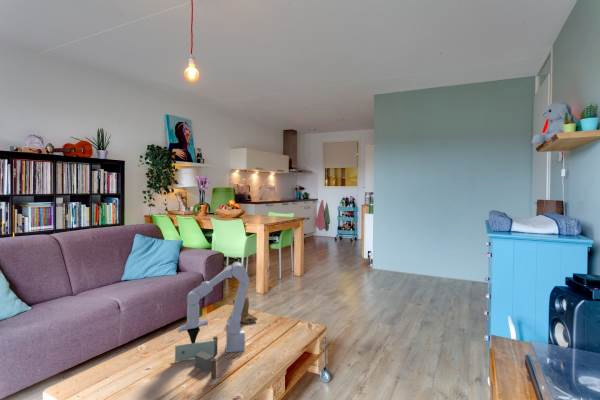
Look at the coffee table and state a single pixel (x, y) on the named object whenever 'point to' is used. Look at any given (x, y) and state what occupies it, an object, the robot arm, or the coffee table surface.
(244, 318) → the brown boot
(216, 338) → the door frame
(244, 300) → the robot arm
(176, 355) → the door
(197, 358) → the block
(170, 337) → the coffee table surface
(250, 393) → the coffee table surface
